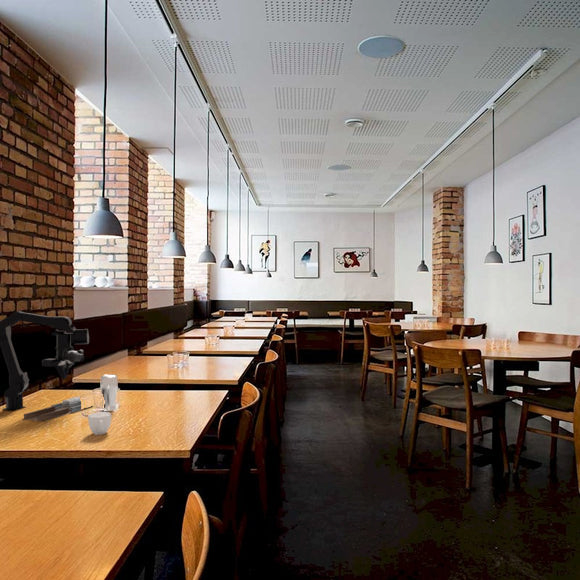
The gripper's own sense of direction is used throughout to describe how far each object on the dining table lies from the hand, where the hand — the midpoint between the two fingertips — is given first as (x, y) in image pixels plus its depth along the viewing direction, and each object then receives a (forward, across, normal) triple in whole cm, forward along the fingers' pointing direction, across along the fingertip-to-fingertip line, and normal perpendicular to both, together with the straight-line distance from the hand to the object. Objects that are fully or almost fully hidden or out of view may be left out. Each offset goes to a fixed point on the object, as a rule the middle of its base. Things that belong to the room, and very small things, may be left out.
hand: (64, 379), depth 212 cm
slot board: (+12, -10, -8) cm, 18 cm away
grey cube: (+12, -4, -8) cm, 15 cm away
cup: (+12, -25, -45) cm, 53 cm away
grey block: (+12, 0, -8) cm, 14 cm away
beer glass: (+12, +2, -24) cm, 27 cm away
